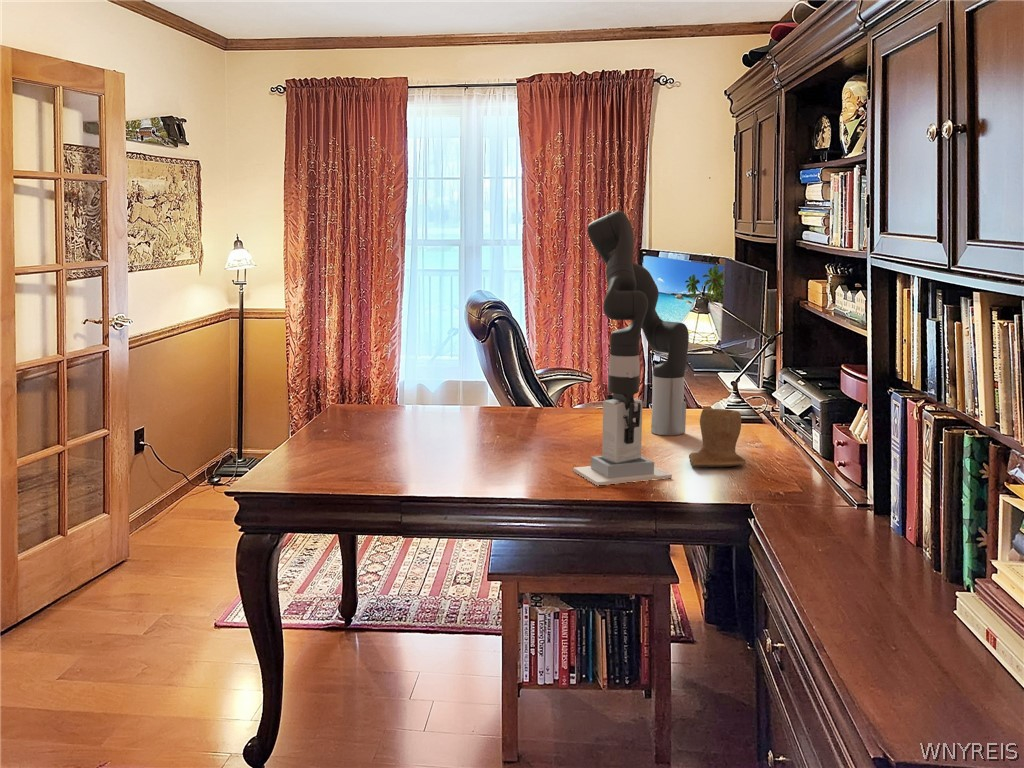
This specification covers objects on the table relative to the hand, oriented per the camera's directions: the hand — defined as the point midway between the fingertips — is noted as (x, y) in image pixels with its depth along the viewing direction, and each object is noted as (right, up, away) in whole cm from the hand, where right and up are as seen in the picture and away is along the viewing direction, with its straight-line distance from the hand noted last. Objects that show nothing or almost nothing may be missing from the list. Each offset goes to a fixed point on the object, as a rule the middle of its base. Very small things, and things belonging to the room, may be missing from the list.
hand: (622, 439), depth 219 cm
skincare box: (0, -5, +1) cm, 5 cm away
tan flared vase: (+25, -7, +11) cm, 29 cm away
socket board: (0, -9, +1) cm, 9 cm away
